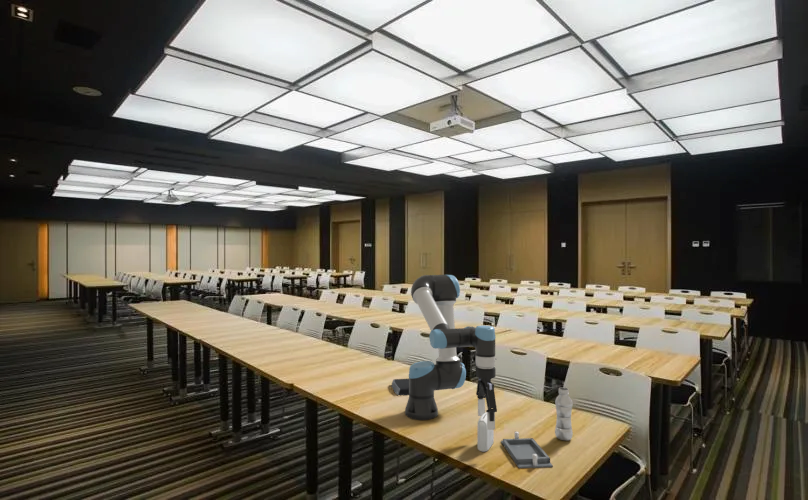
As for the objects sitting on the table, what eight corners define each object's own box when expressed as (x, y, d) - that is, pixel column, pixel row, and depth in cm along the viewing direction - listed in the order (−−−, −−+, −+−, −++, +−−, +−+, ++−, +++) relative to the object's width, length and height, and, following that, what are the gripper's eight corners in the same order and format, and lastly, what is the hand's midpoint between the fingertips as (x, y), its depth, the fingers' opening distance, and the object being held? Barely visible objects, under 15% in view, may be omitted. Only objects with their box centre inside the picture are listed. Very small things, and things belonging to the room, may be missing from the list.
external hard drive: (396, 397, 215) (396, 389, 215) (390, 385, 234) (390, 378, 234) (420, 395, 218) (420, 387, 218) (412, 384, 237) (412, 377, 237)
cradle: (518, 468, 142) (518, 456, 142) (501, 442, 162) (501, 431, 162) (552, 467, 142) (552, 455, 142) (530, 441, 162) (530, 431, 162)
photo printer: (484, 439, 164) (484, 408, 164) (494, 442, 162) (494, 410, 162) (476, 450, 155) (475, 417, 155) (487, 453, 152) (487, 419, 153)
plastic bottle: (552, 435, 167) (551, 386, 168) (568, 435, 168) (567, 386, 168) (559, 443, 161) (559, 391, 161) (575, 442, 161) (575, 391, 162)
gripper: (505, 375, 146) (506, 435, 146) (486, 358, 171) (486, 410, 171) (484, 375, 146) (485, 436, 145) (468, 359, 171) (469, 410, 170)
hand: (486, 422), depth 158 cm, fingers open, 13 cm apart
